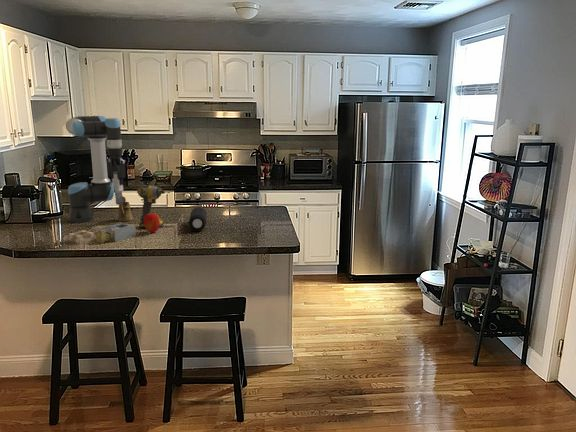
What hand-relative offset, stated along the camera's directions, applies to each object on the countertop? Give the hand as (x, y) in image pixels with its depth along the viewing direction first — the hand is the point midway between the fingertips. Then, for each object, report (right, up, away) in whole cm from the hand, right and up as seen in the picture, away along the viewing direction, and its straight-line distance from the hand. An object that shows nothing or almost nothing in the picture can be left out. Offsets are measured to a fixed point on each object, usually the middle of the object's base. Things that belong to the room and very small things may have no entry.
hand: (118, 190), depth 263 cm
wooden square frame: (-19, -27, -2) cm, 34 cm away
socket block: (-1, -26, +5) cm, 26 cm away
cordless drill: (+14, -21, +26) cm, 36 cm away
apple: (+15, -24, +15) cm, 31 cm away
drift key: (-5, -27, -2) cm, 28 cm away
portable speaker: (+39, -21, +27) cm, 52 cm away
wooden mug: (-10, -17, +40) cm, 45 cm away
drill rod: (0, -7, +2) cm, 8 cm away
